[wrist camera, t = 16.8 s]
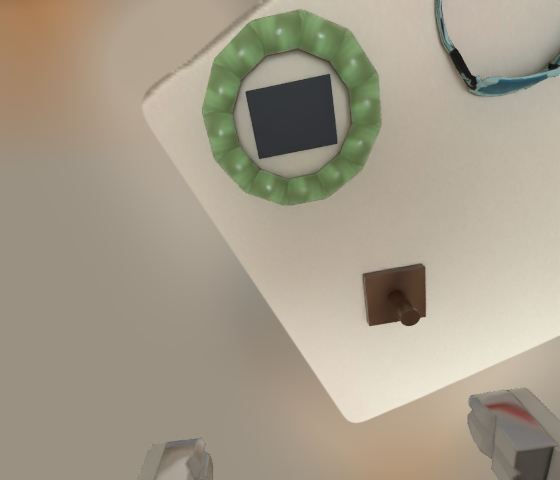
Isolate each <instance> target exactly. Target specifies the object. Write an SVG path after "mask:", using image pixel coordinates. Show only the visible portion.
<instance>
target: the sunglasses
mask: <svg viewBox="0 0 560 480" xmlns="http://www.w3.org/2000/svg"><path fill="white" fill-rule="evenodd" d="M435 4H436V18H437V23H438V27H439V31H440V35H441V39H442V44H443V46H444V48H445V49H446V50H447V52H448V53H449V55H450V57H451V59H452V61H453V63H454V65H455V67H456V69H457V70H458V72H459V73H460V75H461V77H462V78H463V80H464V81H465V83H466V84H467V86H468V87H469V90H468V91H470V92H472V93H474V94H477V95H481V96H502V95H505V94H509V93H513V92H516V91H519V90H521V89H527V88H529V87H531V86H532V85H534V84H536V83H538V82H540V81H542V80H544V79H546V78H548V77H556V76H558V75H559V74H560V53H559V55H558V56H557V57H556V59H555V60H554V61H553V62H550V63H549V65H548V66H547V67H546V68H545V69H543V70H542V71H541V72H539V73H538V74H534V75H530V76H526V77H514V78H502V77H487V78H486V79H484V80H482V79H481V78H480V76H479V75H478V76H477V77H475V76H473V75H471V73H470V71H469V69H468V68H467V66H466V64H465V62H464V60H463V58H462V56H461V54H460V53H459V52H458V50H457V49H456V48H455V47H454V45H453V43H452V42H451V40H450V39H449V37H448V35H447V31H446V28H445V24H444V19H443V14H442V0H436V1H435ZM481 87H482V88H481Z"/></svg>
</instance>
